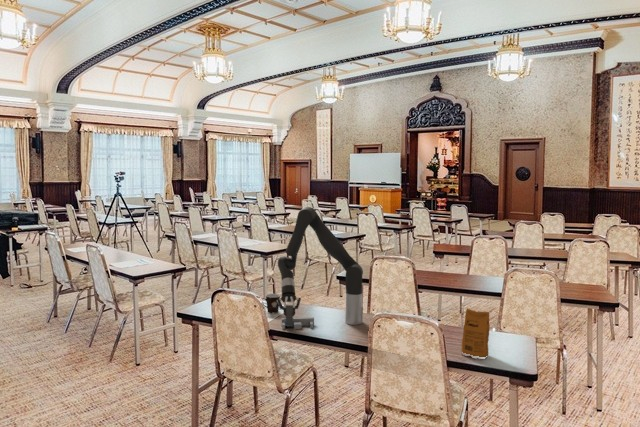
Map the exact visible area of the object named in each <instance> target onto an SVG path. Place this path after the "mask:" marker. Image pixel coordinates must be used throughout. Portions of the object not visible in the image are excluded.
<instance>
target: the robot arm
mask: <svg viewBox="0 0 640 427" xmlns="http://www.w3.org/2000/svg"><path fill="white" fill-rule="evenodd" d="M308 227H311V229H312V230H313V231H314V232H315V235H316V236H317V237H316V238H317V239H318V242H319V244H320V245H321V247H322V248H323V249H324V250H325V251H326V252H327V253H328V255H330V257H332V258H333V259H334V260H336V261H337V262H338V263H340V265H341V266H342V268H343V269H344V270H345V316H344V317H345V320H344V321H345V323H346V324H347V325H352V326H355V325H361V324H363V323H364V322H363V318H364V316H363V314H364V312H363V310H364V307H363V274H364V270H363V268H362V266H361V265H360V264H359V263H358V262H357V261H356V260H355V259H354V258H353V257H352V256H351V255H350V253H349V252H348V251H347V250H346V249H345V247H344V245H343V244H342V243H341V242H340V240H339V238H337V237H336V235H335V234H334V233H333V232H332V231H331V230H330V229H329V227H328V226H327V225H326V223H324V221H323V220H322V219H321V217H320V216H319V214H318V213H317V212H316V210H315V209H314V207H311V206H306V207H303V208H301V209H300V210H299V211H298V213H297V217H296V221H295V226H294V230H293V232H292V234H291V237H290V239H289V241H288V244H287V245H286V246H287V247H286V249H285V253H286V254H287V255H288V256H290V257H287V256H283V255H282V256H280V257H279V258H278V261H277V267H278V270H279V273H280V275H281V283H280V284H281V296H280V298H277V303H278V305H279V310H283V311H282V312H283V316H284V317H286V302H293V317H294V316H295V315H296V310H298V309H299V307H300V303H301V300H302V298H301V297H297V296H296V285H295V284H296V283H295V276H294V272H293V270H294V269H295V268H296V266H297V258H298V253H299V251H300V248H301V247H302V244H303V239H304V238H303V237H304V234H305V233H306V230H307V228H308ZM295 301H296V305H295ZM282 302H283V304H282Z"/></svg>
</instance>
